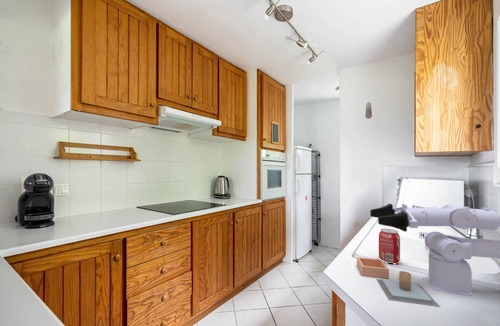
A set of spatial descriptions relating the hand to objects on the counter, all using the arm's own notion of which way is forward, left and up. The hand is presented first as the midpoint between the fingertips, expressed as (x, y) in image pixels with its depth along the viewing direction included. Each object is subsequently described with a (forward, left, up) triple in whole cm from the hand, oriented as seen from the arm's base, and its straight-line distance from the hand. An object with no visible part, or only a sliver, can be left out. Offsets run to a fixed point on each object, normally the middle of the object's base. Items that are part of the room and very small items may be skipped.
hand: (374, 216), depth 75 cm
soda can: (-10, -17, -21) cm, 28 cm away
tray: (-1, -5, -20) cm, 21 cm away
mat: (-7, +6, -20) cm, 22 cm away
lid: (-7, +6, -20) cm, 22 cm away
